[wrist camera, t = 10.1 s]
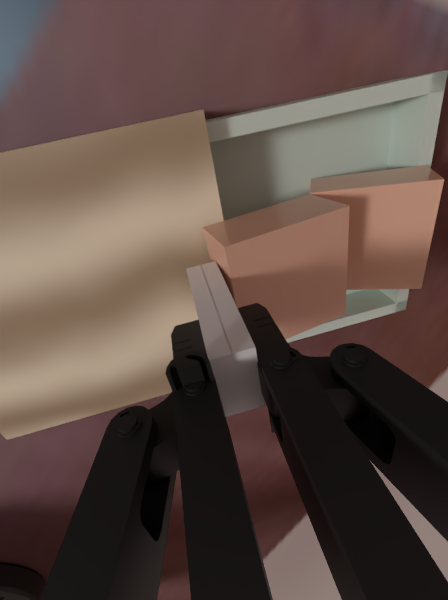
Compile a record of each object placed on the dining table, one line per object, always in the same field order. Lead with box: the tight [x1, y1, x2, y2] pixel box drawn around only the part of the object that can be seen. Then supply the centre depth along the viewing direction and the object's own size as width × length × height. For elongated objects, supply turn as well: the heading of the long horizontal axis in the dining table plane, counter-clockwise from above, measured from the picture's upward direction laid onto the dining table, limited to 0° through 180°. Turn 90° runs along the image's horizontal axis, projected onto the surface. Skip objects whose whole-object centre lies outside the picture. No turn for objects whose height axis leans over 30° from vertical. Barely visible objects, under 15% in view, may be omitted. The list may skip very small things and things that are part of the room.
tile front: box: [203, 194, 350, 339], centre depth 16 cm, size 6×6×3 cm
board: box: [0, 110, 224, 440], centre depth 17 cm, size 15×16×4 cm
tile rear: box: [310, 165, 444, 290], centre depth 18 cm, size 6×6×3 cm
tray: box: [206, 70, 448, 343], centre depth 19 cm, size 14×12×3 cm
